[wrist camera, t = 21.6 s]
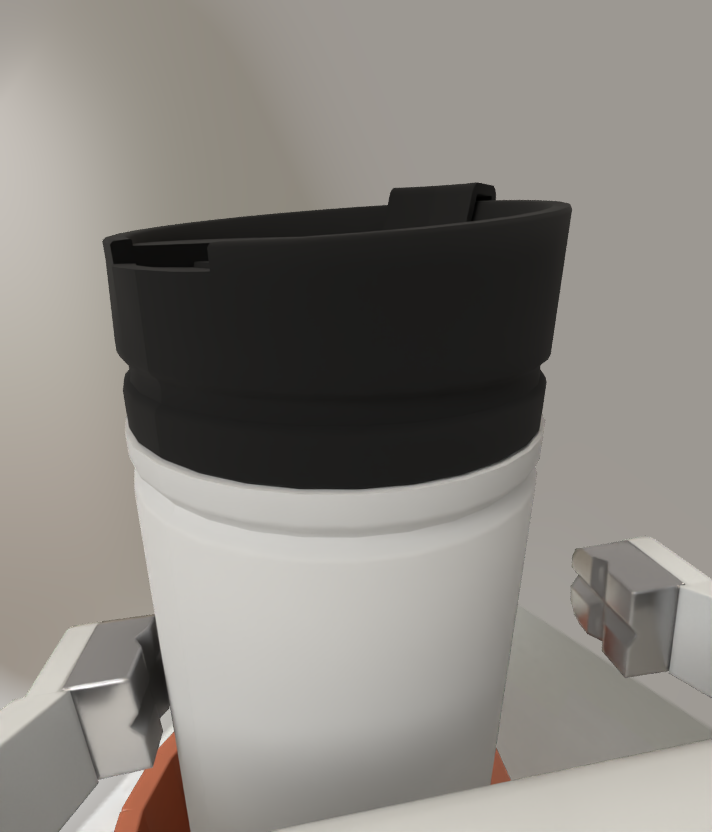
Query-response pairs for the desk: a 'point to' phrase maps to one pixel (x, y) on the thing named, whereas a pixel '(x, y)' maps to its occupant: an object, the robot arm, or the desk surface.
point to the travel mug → (337, 488)
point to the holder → (165, 800)
